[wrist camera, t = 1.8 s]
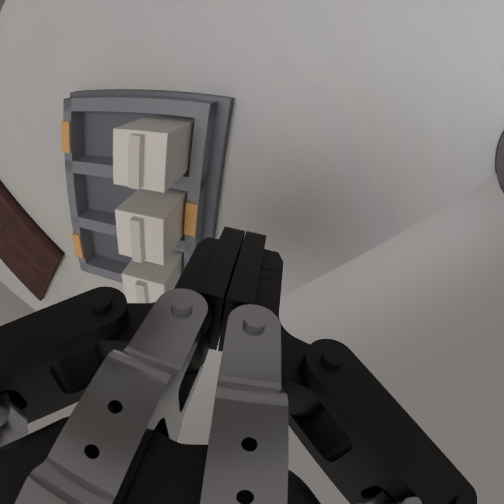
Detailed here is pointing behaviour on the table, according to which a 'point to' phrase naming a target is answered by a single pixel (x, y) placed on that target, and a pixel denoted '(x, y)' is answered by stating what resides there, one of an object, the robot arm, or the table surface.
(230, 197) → the table surface
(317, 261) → the table surface
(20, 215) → the notebook
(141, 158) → the white ridged block
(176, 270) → the white oblong block
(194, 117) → the switch bank
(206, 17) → the table surface
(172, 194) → the white rectangular block
